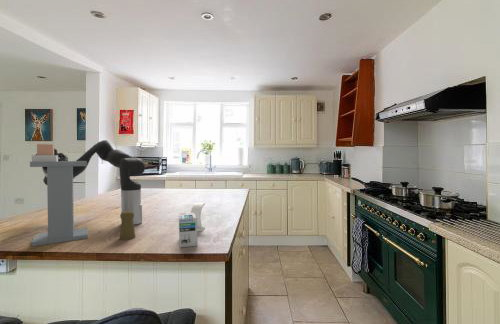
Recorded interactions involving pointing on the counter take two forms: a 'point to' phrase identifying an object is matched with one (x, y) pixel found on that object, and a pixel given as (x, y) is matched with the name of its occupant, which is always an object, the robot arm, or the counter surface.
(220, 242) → the counter surface
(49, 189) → the stand
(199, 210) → the headphone stand
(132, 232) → the cork
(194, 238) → the light bulb box
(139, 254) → the counter surface
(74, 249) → the counter surface
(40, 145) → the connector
